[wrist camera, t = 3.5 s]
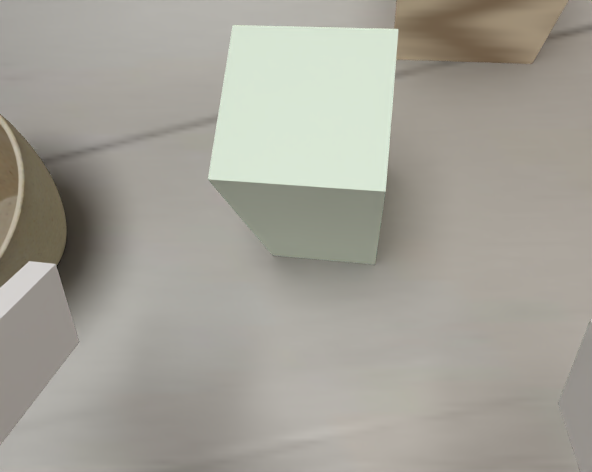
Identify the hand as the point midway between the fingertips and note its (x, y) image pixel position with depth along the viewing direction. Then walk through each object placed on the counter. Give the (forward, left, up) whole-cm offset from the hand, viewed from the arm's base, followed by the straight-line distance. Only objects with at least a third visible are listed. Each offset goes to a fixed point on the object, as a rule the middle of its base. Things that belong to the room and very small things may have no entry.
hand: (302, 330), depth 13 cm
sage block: (-1, +6, -11) cm, 13 cm away
